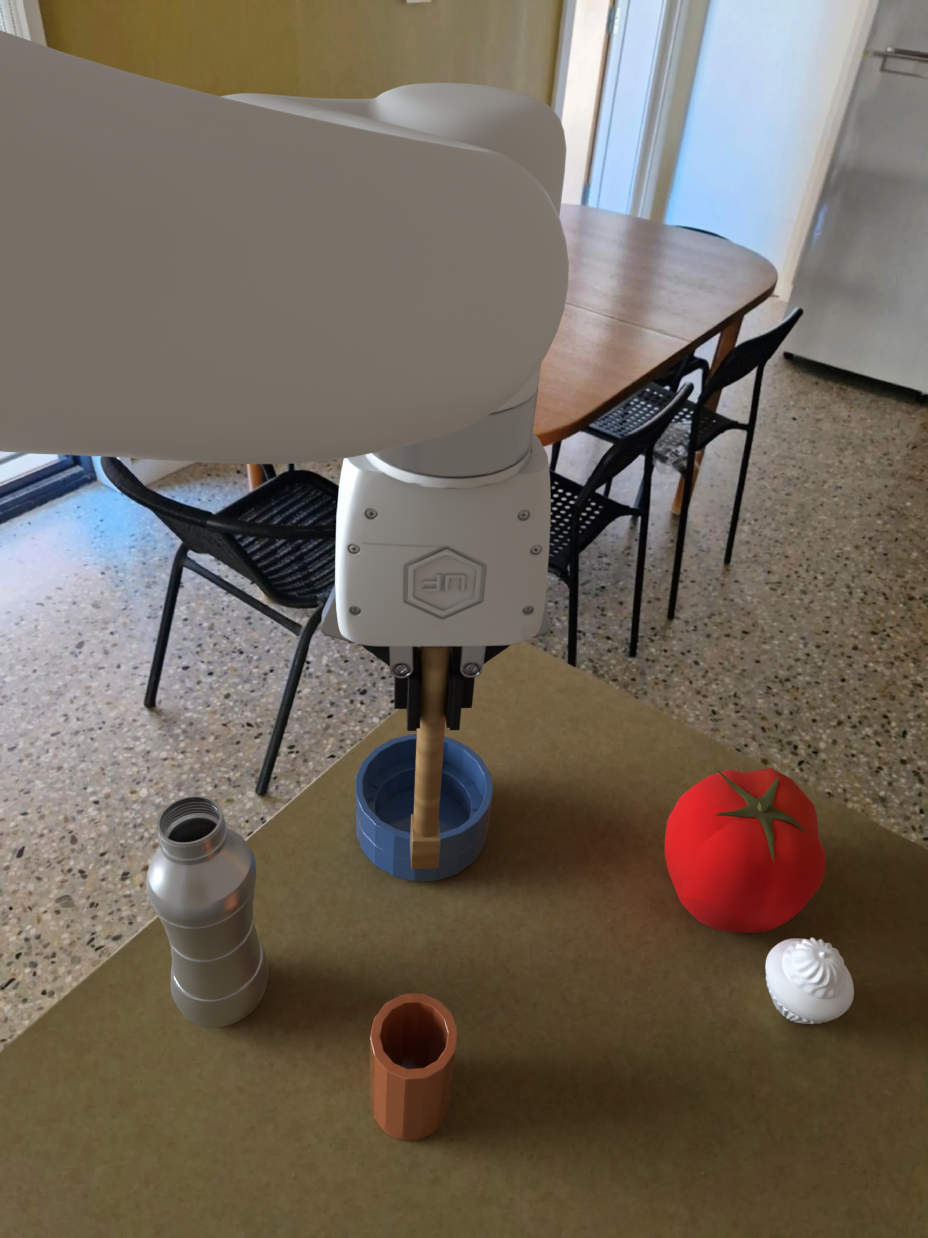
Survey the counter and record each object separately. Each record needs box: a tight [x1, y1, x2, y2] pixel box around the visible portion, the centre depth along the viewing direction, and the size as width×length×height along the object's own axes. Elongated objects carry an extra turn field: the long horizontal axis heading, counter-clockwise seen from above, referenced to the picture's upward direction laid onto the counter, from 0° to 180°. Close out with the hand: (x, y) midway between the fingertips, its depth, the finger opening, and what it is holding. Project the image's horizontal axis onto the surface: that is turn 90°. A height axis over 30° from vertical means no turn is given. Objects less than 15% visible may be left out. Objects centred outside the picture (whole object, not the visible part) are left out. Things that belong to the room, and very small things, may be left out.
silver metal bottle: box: [145, 795, 270, 1029], centre depth 58 cm, size 6×7×20 cm
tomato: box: [664, 767, 827, 934], centre depth 70 cm, size 12×13×12 cm
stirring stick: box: [410, 646, 450, 869], centre depth 53 cm, size 2×2×19 cm
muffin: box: [764, 937, 855, 1025], centre depth 64 cm, size 6×6×7 cm
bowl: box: [355, 733, 494, 882], centre depth 75 cm, size 11×11×6 cm
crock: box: [369, 992, 459, 1142], centre depth 56 cm, size 5×5×9 cm
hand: (432, 711), depth 50 cm, fingers closed on stirring stick, 1 cm apart
